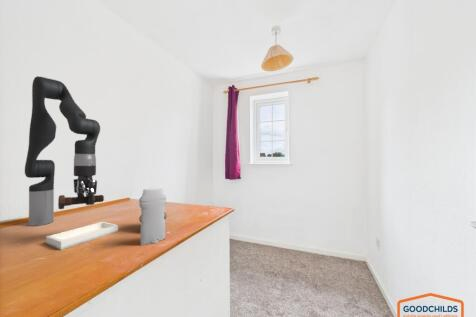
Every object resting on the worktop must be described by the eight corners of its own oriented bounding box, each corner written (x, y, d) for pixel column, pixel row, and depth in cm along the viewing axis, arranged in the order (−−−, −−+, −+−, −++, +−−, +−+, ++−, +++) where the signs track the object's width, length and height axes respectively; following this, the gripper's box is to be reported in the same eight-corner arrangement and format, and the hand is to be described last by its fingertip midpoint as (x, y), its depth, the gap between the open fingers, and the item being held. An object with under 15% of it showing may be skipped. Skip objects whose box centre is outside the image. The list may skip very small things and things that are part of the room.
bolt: (103, 206, 89) (58, 212, 78) (101, 199, 92) (57, 204, 81) (105, 196, 87) (59, 200, 76) (103, 189, 90) (59, 192, 79)
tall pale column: (141, 247, 75) (141, 189, 75) (137, 243, 77) (137, 188, 78) (168, 239, 82) (168, 186, 82) (164, 236, 85) (164, 185, 85)
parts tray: (46, 243, 78) (46, 236, 78) (102, 227, 96) (102, 221, 96) (61, 250, 72) (61, 241, 72) (117, 231, 91) (118, 225, 91)
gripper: (66, 164, 84) (65, 203, 84) (84, 165, 78) (83, 207, 78) (86, 164, 91) (85, 200, 91) (104, 164, 85) (104, 203, 85)
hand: (84, 203), depth 84 cm, fingers closed on bolt, 6 cm apart
